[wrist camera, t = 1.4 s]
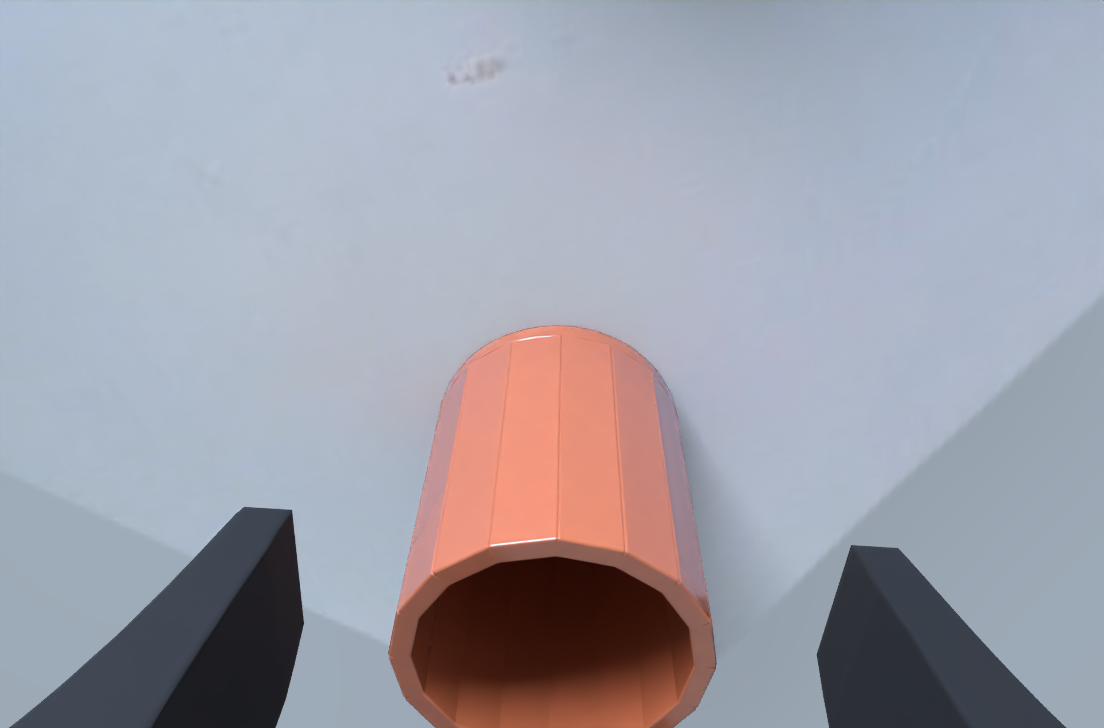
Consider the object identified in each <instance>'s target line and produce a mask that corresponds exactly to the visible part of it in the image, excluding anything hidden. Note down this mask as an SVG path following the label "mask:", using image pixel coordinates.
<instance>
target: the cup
mask: <svg viewBox="0 0 1104 728" xmlns="http://www.w3.org/2000/svg"><path fill="white" fill-rule="evenodd" d="M388 654H389V659H390V662H391V665H392V667H393V670H394V673H395V675H396V678H397V680H398V683H399V686H400V688H401V691H402V694H403V696H404V697H405V699H406V700H407V701H408V702H409V703H410V704H411V705H412V706H413V707H414V708H415V709H416V710H417V711H418V712H419V713H420V714H421V715H422V716H424V718H425V719H427V720H428V721H429V722H430V723H431V724H432V725H433V726H434V727H435V728H674V727H675V726H676V725H677V724H678V723H679V722H681V721H682V720H683V719H685V718H686V717H687V716H688V715H690V714H691V713H692V712H693V711H694V710H695V709H696V708H697V707H698V705H699V703H700V701H701V699H702V697H703V695H704V692H705V690H706V688H707V686H708V684H709V682H710V680H711V678H712V675H713V674H714V671H715V669H716V664H717V663H716V654H715V645H714V636H713V627H712V620H711V614H710V608H709V602H708V597H707V591H706V585H705V579H704V573H703V567H702V561H701V555H700V549H699V544H698V538H697V532H696V526H695V520H694V514H693V508H692V502H691V496H690V490H689V485H688V479H687V473H686V467H685V461H684V455H683V449H682V443H681V437H680V432H679V426H678V420H677V414H676V408H675V406H674V403H673V400H672V397H671V395H670V392H669V389H668V387H667V386H666V384H665V382H664V380H663V379H662V377H661V376H660V374H659V373H658V372H657V370H656V369H655V368H654V367H653V365H652V364H651V363H649V362H648V361H647V360H646V359H645V358H644V357H643V356H642V355H641V354H639V353H638V352H637V351H635V350H634V349H633V348H631V347H630V346H628V345H626V344H625V343H623V342H621V341H619V340H617V339H615V338H613V337H610V336H608V335H605V334H603V333H600V332H596V331H593V330H589V329H584V328H578V327H571V326H544V327H535V328H530V329H525V330H520V331H517V332H514V333H511V334H508V335H505V336H503V337H501V338H499V339H497V340H495V341H492V342H491V343H489V344H488V345H486V346H484V347H483V348H481V349H480V350H478V351H477V352H476V353H475V354H474V355H472V356H471V357H470V358H469V359H468V360H467V361H466V362H465V363H464V364H463V365H462V366H461V367H460V368H459V369H458V371H457V372H456V374H455V375H454V377H453V378H452V380H451V381H450V383H449V385H448V388H447V390H446V392H445V394H444V398H443V400H442V403H441V408H440V412H439V417H438V422H437V426H436V431H435V435H434V440H433V445H432V449H431V454H430V459H429V463H428V468H427V473H426V477H425V482H424V486H423V491H422V496H421V500H420V505H419V510H418V514H417V519H416V524H415V528H414V533H413V537H412V542H411V547H410V551H409V556H408V561H407V565H406V570H405V575H404V579H403V584H402V588H401V593H400V598H399V602H398V607H397V612H396V617H395V622H394V627H393V632H392V637H391V642H390V647H389V652H388Z"/></svg>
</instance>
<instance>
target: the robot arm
mask: <svg viewBox="0 0 1104 728" xmlns="http://www.w3.org/2000/svg"><path fill="white" fill-rule="evenodd" d="M303 625H304V620H303V610H302V601H301V591H300V582H299V572H298V563H297V553H296V544H295V534H294V525H293V515H292V510H284V509H268V508H252V507H244V508H242V509H241V510H240V511H239V512H237V513H236V514H235V515H234V516H233V517H232V519H231V520H230V521H229V522H228V523H227V524H226V525H225V526H224V527H223V528H222V529H221V530H220V531H219V532H218V533H217V535H216V536H215V537H214V538H213V539H212V540H211V541H210V542H209V543H208V544H207V545H206V546H205V547H204V548H203V549H202V551H201V552H200V553H199V554H198V555H197V556H196V557H195V558H194V559H193V560H192V561H191V562H190V563H189V564H188V565H187V566H186V567H185V568H184V569H183V570H182V571H181V572H180V574H179V575H178V576H177V577H176V578H175V579H174V580H173V581H172V582H171V583H170V584H169V585H168V586H167V587H166V588H165V589H164V590H163V591H162V592H161V593H160V594H159V595H158V596H157V597H156V598H155V599H154V600H153V601H152V602H151V603H150V604H149V605H148V606H146V607H145V608H144V610H142V611H141V612H140V614H138V615H137V616H136V617H135V618H134V619H133V620H132V621H131V622H130V623H129V624H128V625H127V626H126V627H125V628H124V629H123V630H122V631H121V632H120V633H119V634H118V635H117V636H116V637H114V638H113V639H112V640H111V641H110V642H109V643H108V644H107V645H106V646H105V647H103V648H102V649H101V650H100V651H99V652H98V653H97V654H96V655H94V656H93V657H92V658H91V659H90V660H89V661H88V662H87V663H86V664H84V665H83V666H82V667H81V668H80V669H79V670H78V671H77V672H76V673H74V674H73V675H72V676H71V677H70V678H69V679H68V680H67V681H65V683H63V684H62V685H61V686H60V687H59V688H57V689H56V690H55V691H54V692H53V693H51V694H50V695H49V696H48V697H47V698H45V699H44V700H43V701H42V702H41V703H40V704H38V705H37V706H36V707H35V708H33V709H32V710H31V711H30V712H28V713H27V714H26V715H25V716H24V717H22V718H21V719H20V720H19V721H18V722H16V723H15V724H13V725H12V726H11V727H10V728H275V727H276V725H277V722H278V719H279V717H280V714H281V711H282V708H283V705H284V702H285V699H286V696H287V692H288V688H289V684H290V680H291V676H292V672H293V668H294V664H295V660H296V655H297V651H298V647H299V642H300V638H301V634H302V629H303ZM817 659H818V665H819V672H820V677H821V684H822V690H823V697H824V702H825V707H826V712H827V718H828V723H829V728H1066V727H1065V726H1064V725H1063V724H1062V723H1061V722H1060V721H1059V720H1057V718H1056V717H1054V716H1053V715H1052V714H1051V713H1050V712H1049V711H1048V710H1047V709H1046V708H1045V707H1044V706H1043V705H1042V704H1041V703H1040V702H1039V701H1038V700H1037V699H1036V698H1035V697H1034V696H1033V695H1032V694H1031V693H1030V691H1028V689H1027V688H1026V687H1024V685H1023V684H1022V683H1021V682H1020V681H1019V680H1018V679H1017V678H1016V677H1015V676H1014V675H1013V674H1012V673H1011V672H1010V671H1009V670H1008V669H1007V668H1006V667H1005V665H1004V664H1003V663H1001V661H1000V660H999V659H998V658H997V657H996V656H995V655H994V654H993V653H992V652H991V651H990V650H989V648H988V647H987V646H986V645H985V644H984V643H983V642H982V641H981V640H980V639H979V638H978V636H977V635H976V634H975V633H974V632H973V631H972V630H971V629H970V628H969V627H968V625H967V624H966V623H965V622H964V621H963V620H962V619H961V618H960V616H959V615H958V614H957V613H956V612H955V611H954V610H953V609H952V608H951V606H950V605H949V604H948V603H947V602H946V601H945V600H944V599H943V598H942V596H941V595H940V594H939V593H938V592H937V591H936V590H935V589H934V587H933V586H932V585H931V584H930V583H929V582H928V581H927V579H926V578H925V577H924V576H923V575H922V574H921V573H920V572H919V570H918V569H917V568H916V567H915V566H914V565H913V564H912V563H911V562H910V560H909V559H908V558H907V557H906V556H905V555H904V554H903V553H902V552H901V551H900V550H899V549H898V548H887V547H871V546H855V545H851V548H850V551H849V554H848V557H847V560H846V564H845V567H844V570H843V573H842V577H841V579H840V582H839V586H838V589H837V592H836V595H835V598H834V602H833V605H832V608H831V611H830V614H829V617H828V621H827V624H826V627H825V630H824V633H823V636H822V640H821V643H820V646H819V649H818V652H817Z"/></svg>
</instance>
